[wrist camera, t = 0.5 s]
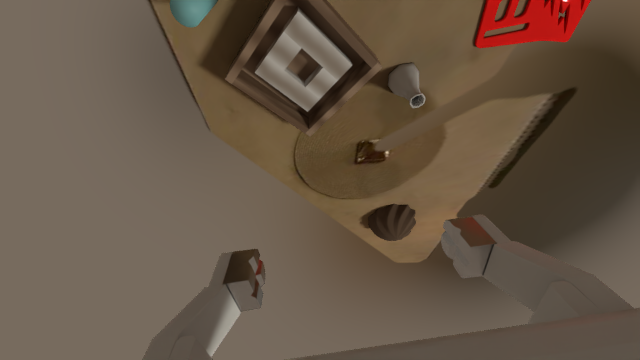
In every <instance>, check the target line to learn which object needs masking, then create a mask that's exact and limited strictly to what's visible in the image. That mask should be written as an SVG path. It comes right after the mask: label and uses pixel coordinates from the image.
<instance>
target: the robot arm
mask: <svg viewBox="0 0 640 360" xmlns="http://www.w3.org/2000/svg"><path fill="white" fill-rule="evenodd" d="M443 228H444V229H445V230H446V231H445V232H444V233H443V234H442V237H441V243H442V247H443V250H444V252H445V253H446V255H447V256H448V257H450V258H451V259H453V260H454V262H453V265H454V267H455V269H456V270H457V271H458V273H459V274H460V276H461V277H462V278H468V277H477V276H483V277H484V278H486V279H487V280H488V281H490V282H491V283H493V284H494V285H496V286H497V287H499V288H500V289H502V290H503V291H504V292H506V293H507V294H509V295H510V296H512V297H513V298H515V299H516V300H518V301H519V302H521V303H522V304H523V305H525V306H526V307H528V308H529V309H531V310H532V311H534V313H533V314H532V316H531V318H530V319H529V322H528V324H525V325H519V326H512V327H506V328H498V329H492V330H484V331H478V332H472V333H464V334H457V335H450V336H443V337H437V338H430V339H423V340H416V341H409V342H402V343H396V344H388V345H382V346H375V347H368V348H361V349H354V350H348V351H341V352H334V353H327V354H321V355H313V356H307V357H300V358H294V359H286V360H640V308H633V307H632V306H631V305H630V304H628V303H627V302H626V301H625V300H623V299H622V298H621V297H620V296H618V295H617V294H616V293H615V292H614V291H613V290H611V289H610V288H609V287H608V286H606V285H605V284H604V283H603V282H602V281H600V280H599V279H598V278H597V277H596V276H594V275H593V274H590V273H588V272H585V271H583V270H581V269H579V268H576V267H574V266H571V265H569V264H567V263H565V262H562V261H560V260H558V259H555V258H553V257H551V256H548V255H546V254H544V253H541V252H539V251H537V250H534V249H532V248H530V247H527V246H525V245H523V244H521V243H518V242H516V241H513V242H511V241H510V240H509V239H508V238H507V237H506V236H505V235H504V234H503V233H502V232H501V231H500V230H499V229H498V228H497V227H496V226H495V225H494V224H493V223H492V222H491V221H490V220H488V218H487V217H485V216H484V215H482V214H481V215H476V216H469V217H462V218H456V219H450V220H446V221H445V222H444V225H443ZM259 257H260V254H259V251H258V249H251V250H243V251H235V252H229V253H222V254H221V255H220V256H219V260H218V262H217V265H216V267H215V270H214V273H213V276H212V279H211V281H210V284H209V287H205V288H204V289H203V290H202V291H201V292H200V293H199V294H198V295H197V296H196V297H195V298H194V299H193V300H192V301H191V302H190V303H189V304H188V305H187V306H186V307H185V308H184V309H183V310H182V311H181V312H180V313H179V314H178V315H177V316H176V317H175V318H174V319H172V320H171V322H169V323H168V324H167V326H165V328H164V329H162V330H161V331H160V332H159V333H158V334H157V335H156V336H155V337H154V339H152V341H151V343H150V345H149V347H148V349H147V351H146V353H145V355H144V357H143V359H142V360H213V359H212V358H211V356H212V355H213V353H214V352H215V350H216V349H217V348H218V346H219V345H220V343H221V341H222V340H223V339H224V337H225V336H226V334H227V333H228V331H229V330H230V328H231V327H232V325H233V324H234V322H235V321H236V319H237V318H238V316H239V315H240V313H241V312H242V311H247V310H253V309H258V308H261V305H262V298H263V291H262V289H261V287H262V286H263V285H264V284H265V268H264V264H263V262H262V261H261V260H259Z"/></svg>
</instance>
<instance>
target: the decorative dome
mask: <svg viewBox="0 0 640 360" xmlns="http://www.w3.org/2000/svg"><path fill="white" fill-rule="evenodd" d="M414 216H415V210H413V209H410V207H409V205H397V204H392V205H390V206H388V207H384V208H379V209H377V210H376V212H375V213H374V214H372V215H371V216H369V227H370V228H371V230H372V231H373V233H374V234H376V235H377V236H378V237H380V238H382V239H384V240H388V241H396V240H400V239H402V238H403V237H405V236H407V235H408V234H409V233H410V232H411V229H412V228H413V227H414V225H415V224H416V221H415V219H414Z"/></svg>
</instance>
